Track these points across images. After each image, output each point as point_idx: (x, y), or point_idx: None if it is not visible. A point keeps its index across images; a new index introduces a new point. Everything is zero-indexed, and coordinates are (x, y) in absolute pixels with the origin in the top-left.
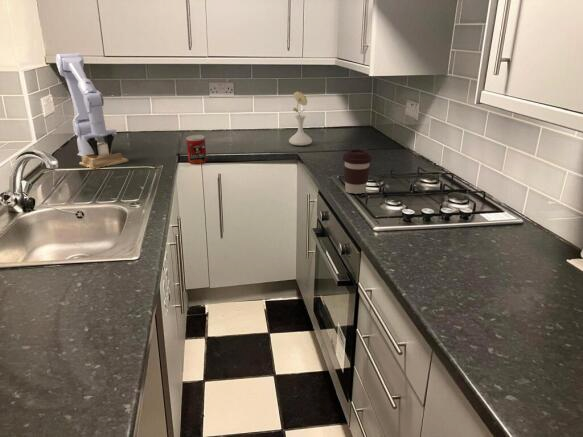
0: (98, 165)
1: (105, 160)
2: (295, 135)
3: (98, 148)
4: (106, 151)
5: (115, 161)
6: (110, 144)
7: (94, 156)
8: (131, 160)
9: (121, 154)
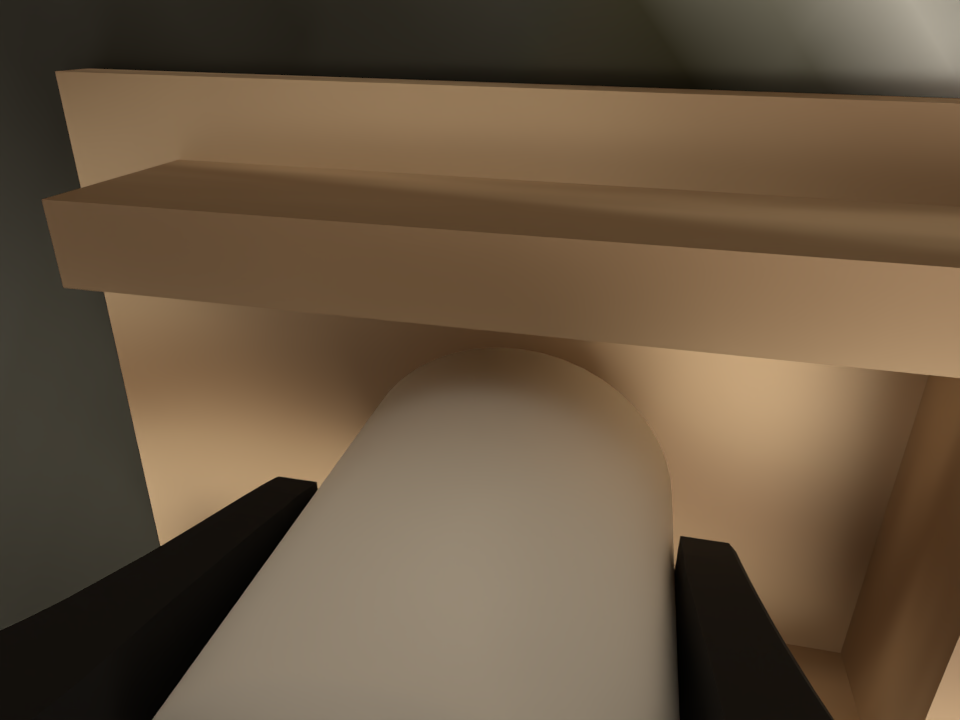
0: (904, 201)
1: (647, 210)
2: None
3: (654, 714)
4: (415, 461)
5: (363, 171)
6: (59, 635)
7: None
8: (15, 67)
9: (75, 192)
